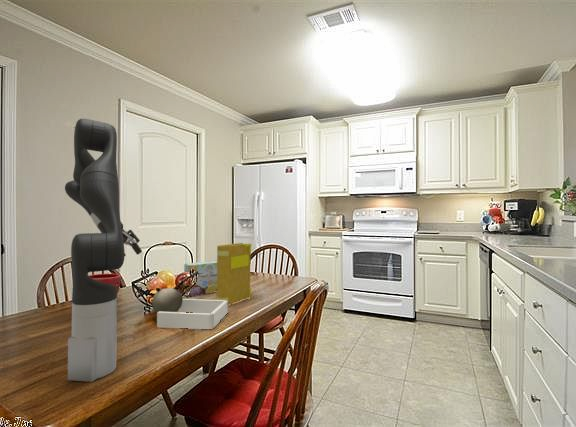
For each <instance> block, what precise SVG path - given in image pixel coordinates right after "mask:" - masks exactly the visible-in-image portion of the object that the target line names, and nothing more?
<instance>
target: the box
mask: <svg viewBox="0 0 576 427" xmlns="http://www.w3.org/2000/svg"><path fill="white" fill-rule="evenodd" d="M182 299H183V301H182V305H181V308H179V309H178V311H177V312H162V311H159V312H157V313H156V314H157V315H156V319H157V322H156V327H157V328H160V329H161V328H163V329H164V328H165V329H180V328H188V329H187V330H201V329H213V328H214V327H215V326H216V325H217V324H218V323H219V322H220V320H221V319H222V318H223V317H224V316H225V315H226V314H227V313H228V314H229V307H228V300H217V299H203V298H202V299H201V298H200V299H199V298H182ZM186 312H189V313H186ZM190 312H193V313H190ZM228 314H227V315H228ZM227 315H226V316H227ZM226 316H225V317H226ZM225 317H224V318H225ZM224 318H223V319H224ZM223 319H222V320H223ZM222 320H221V321H222ZM220 323H221V322H220ZM220 323H219V324H220ZM219 324H218V325H219ZM218 325H217V326H218ZM217 326H216V327H217ZM216 327H215V328H216ZM215 328H214V329H215ZM214 329H213V330H214Z"/></svg>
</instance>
